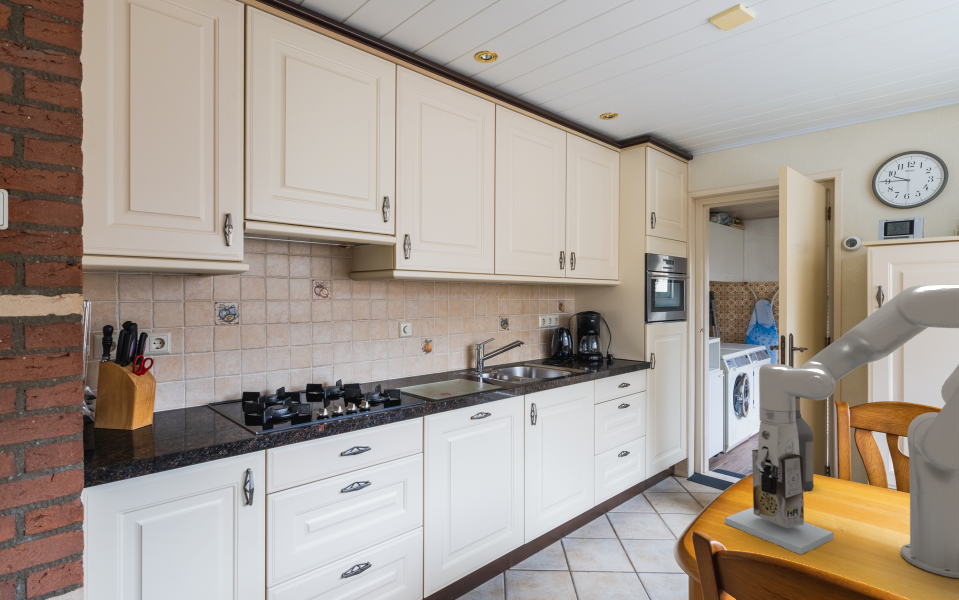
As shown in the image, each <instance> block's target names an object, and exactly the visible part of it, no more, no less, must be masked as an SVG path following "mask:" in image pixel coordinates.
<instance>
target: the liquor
mask: <svg viewBox="0 0 959 600" xmlns="http://www.w3.org/2000/svg"><path fill="white" fill-rule="evenodd" d="M795 411H796V425H797V431H798V439H799V455H801V456H803V490H804V491H803V492H808V491H807V490H809V491H812V490H814V435H813V430H812V428H811V426H810V425H809V424H808V423H807V422H806V420H804V419H803V416H802V413H801V397H795Z"/></svg>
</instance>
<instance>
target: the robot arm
mask: <svg viewBox="0 0 959 600" xmlns="http://www.w3.org/2000/svg"><path fill="white" fill-rule="evenodd" d="M928 328H941V329H959V285H958V284H957V285H949V284H947V285H943V284H942V285H937V284H936V285H935V284H934V285H931V284H924V285H921V284H920V285H919V284H918V285H912V286H910V287H907V288H906V289H904V290H902V291H901V292H899V293H897V294H896V295H895V296H894V297H893V298H891V299H889V300H888V301H887V302H886V303H885V304H883V305H882V306H880V307H879V308H877V309H876V310H875V311H874V312H872V313H870V315H869V316H867V317H866V318H864V319H863V320H862V321H860V322H858V323H857V324H856V325H854V327H852V328H851V329H849V330H848V331H846V332H845V333H844V334H843V335H841V336H840V337H839V338H837V339H836V340H835V341H833V342H831V343H830V344H829V345H828V346H826V347H824V348H823V349H821V350H820V351H819V352H818V353H817V354H815V355H814V356H812V357H811V358H810V359H808V360H807V361H805V362H804V363H803V364H802V365H800V367H798V368H797V367H795V368H794V367H793V366H791V365H787V364H781V363H765V364H762V365H761V366H760V368H759V370H758V374H759V375H758V384H759V386H758V388H759V389H758V390H759V391H758V392H759V394H758V395H759V396H758V397H759V398H758V399H759V403H758V404H759V415H758V416H759V422H760V423H759V429H758V430H759V431H758V439H757V440H758V441H757V442H758V443H757V449H758V459H757V460H756V465H757V467H758V469H759V471H760V475H761V490H762V491H763V492H766V493H769V494H772V495H775V494H776V478H774V474H775V466H776V467H778V468H780V467H781V459H782V458H785V457H787V456H790V455H793V454H797V455H799V439H798V431H797V425H796V411H795V397H800V399H806V400H811V401H823V400H826V399H828V398H830V397H831V396H832V395H833V394H834V392H835V389H836V383H837V382H838V381H840V380H841V379H843V378H844V377H846V376H847V375H848V374H850V373H852V372H853V371H854V370H856V369H858V368H860V367H862V366H863V365H866V364H869V363H873V362H876V361H879V360H882V359H884V358H886V357H889V356H890V355H891V354H892V353H894V352H895V351H897V350H898V349H899V348H900V347H902V346H903V345H904V344H907V342H909V341H910V340H912V339H913V338H914V337H916V336H917V335H919V334H920V333H922V332H924V331H925V330H927V329H928ZM940 391H941V398H942V400H943V401H944V404H943V407H942V408H941V409H940V411H939V412H933V411H931V412H924V413H922V414H919V415H917V416H916V417H915V418H914V419H912V421H911V422H910V424H908V425H909V426H908V429H907V438H906V439H907V449H908V457H909V543H906V544H904V545H902V546H901V547H900V555H901V557H902V558H903V559H904V560H906V561H907V562H908V563H910V564H912V565H913V566H914V567H916V568H919V569H922V570H924V571H926V572H930V573H933V574H936V575H939V576H943V577H949V578H953V579H954V578H955V579H959V363H958V364H957V365H956V367H955V368H954V370H953V371H952V372H951V373H950V375H949V376H948V378H947V379H946V380H945V381H944V382H943V385H942V386H941V390H940ZM766 460H770V461H771V463H772V464H771V463H767V462H766ZM767 466H770V467H771V469H770V470H769V469H768V468H767Z"/></svg>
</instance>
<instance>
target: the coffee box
mask: <svg viewBox="0 0 959 600" xmlns="http://www.w3.org/2000/svg"><path fill="white" fill-rule="evenodd" d="M751 457H752V460H751V461H752V463H751V464H752V466H751V467H752V493H753V494H752V496H753V497H752V503H753V505H752V506H753V509H754V511H753V514H754V515H757V516H759V517H761V518H764V519H766V520H768V521H771V522H773V523H775V524H778V525H780V526H782V527H784V528H790V527H794V526H798V525H803V524H804V522H805V520H804V519H805V516H804V515H805V512H804V509H805V507H804V506H805V505H804V491H803V456H801V455H797V454H793V455H790V456H787V457H785V458H782V459H781V467H780V468H778V467H776V466H775V474H774V478H776V494H775V495H772V494H769V493H766V492H763V491H762V490H761V475H760V471H759V469H758V467H757V465H756V460H757V459H758V448H756V449H752V450H751ZM766 462H767V463H771V461H770V460H766ZM771 464H772V463H771ZM767 468H768V469H769V470H770V469H771V467H770V466H767Z"/></svg>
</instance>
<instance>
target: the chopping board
mask: <svg viewBox="0 0 959 600" xmlns="http://www.w3.org/2000/svg"><path fill="white" fill-rule="evenodd" d="M753 511H754V509H753V507H750V508H748V509H744V510H742V511H739V512H737V513H734V514H731V515H729V516H726V517H725V518H724V524H725V525H728V526H730V527H733V528H734V529H738V530H740V531H742V532H744V531H745V533H747V534H749V535H752V536H754V537H757V538H759V539H761V538H762V539H761V540H764V541H766V540H767V542H769V543H771V542H773V543H774V545H776V544H777V545H776V546H778V545H780V546H779V547H781V546H782V547H781V548H783V547H784V548H783V549H785V548H786V550H788V551H791V552H793V553H795V552H796V553H795V554H798V555H800V554H802V555H804V554H806V553H808V552H810V551H811V550H813V549H815V548H817V547H820V546H822V545H824V544H826V543H828V542H830V541H832V540H834V532H833V531H830V530H828V529H824V528H822V527H820V526H816V525H814V524H812V523H808V522H806V521H804V524H803V525H798V526H794V527H790V528H784V527H782V526H780V525H778V524H775V523H773V522H771V521H768V520H766V519H764V518H761V517H759V516H757V515H754V514H753ZM773 543H772V544H773ZM807 551H808V552H807ZM805 552H806V553H805ZM803 553H804V554H803Z"/></svg>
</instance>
